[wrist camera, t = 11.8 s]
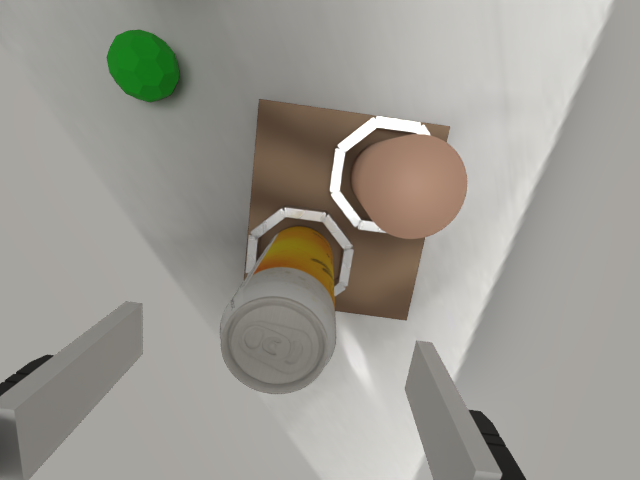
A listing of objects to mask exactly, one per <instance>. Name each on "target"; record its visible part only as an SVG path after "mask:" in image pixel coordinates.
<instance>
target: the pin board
mask: <svg viewBox="0 0 640 480" xmlns="http://www.w3.org/2000/svg"><path fill="white" fill-rule="evenodd" d="M373 117H374V118H375V117H377V116H374V115H367V114H360V113H353V112H346V111H339V110H332V109H325V108H318V107H311V106H304V105H297V104H290V103H283V102H276V101H269V100H263V99H259V108H258V119H257V131H256V143H255V155H254V167H253V179H252V191H251V203H250V214H249V226H248V238H249V234H250V232H251V231H252V230H253V229H254V228H255V227H257V226H258V225H259V224H261V223H262V222H263V221H264V220H266V219H267V218H268V217H270V216H271V215H272V214H274V213H275V212H276V211H277V210H279V209H280V208H281V207H283V206H285V207H286V205H293V206H300V207H307V208H314V209H321V210H326V213H328V212H329V213H330V214H331V215H332V217H333V218H334V219H335V221H336V222H337V223H338V225H339V226H340V227H341V229H342V230H343V231H344V233H345V234H346V235H347V237H348V238H349V239H350V241H351V242H352V245H353V249H354V251H353V257H352V262H351V268H350V274H349V280H348V286H347V287H346V286H345V288H346V289H345V290H344V291H342V292H341V293H339V294H338V295H337V296H335V311H340V312H347V313H355V314H362V315H370V316H377V317H385V318H392V319H399V320H407V316H408V312H409V307H410V303H411V298H412V294H413V289H414V285H415V280H416V276H417V272H418V267H419V263H420V258H421V254H422V249H423V245H424V240H425V237H424V238H418V239H403V238H399V237H395V236H392V235H390V234H388V233H382V232H375V231H368V230H360V229H357V226H356V227H354V226H353V224H352V223H351V222H350V220H349V219H348V218H347V216H346V215H345V214H344V212H343V211H342V210H341V208H340V207H339V206H338V204H337V203H336V202H335V200H334V199H333V198H332V196H331V195H330V193H331V192H330V190H329V189H330V182H331V175H332V168H333V161H334V154H335V149H336V148H337V149H339V148H338V146H337V145H338V144H340V143H341V142H342V141H344V140H345V139H346V138H347V137H349V136H350V135H351V134H353V133H354V132H355V131H356V130H358V129H359V128H360V127H362V126H363V125H364V124H365V123H367V122H368V121H369V120H370V119H372V118H373ZM379 117H381V116H379ZM386 118H388V117H386ZM393 119H394V118H393ZM400 120H401V119H400ZM407 121H408V120H407ZM414 122H415V121H414ZM420 125H424V126H425V127H426V129H427V130H428V132H429V133H430V135H431V136H434V137H437V138H439V139H441V140H443V141H445V142H446V143H447V138H448V134H449V129H450V126H443V125H436V124H429V123H422V122H421V124H420ZM406 135H411V134H409V133H402V132H395V131H388V130H381V129H374V130H373V131H372V132H370V133H369V134H368V135H367V136H365V137H364V138H363V139H361V140H360V141H359V142H358V143H356V144H355V145H354V146H352V147H351V148H350V149H348V150H347V151H346V152H345V157H344V164H343V170H342V177H341V183H340V191H341V193H342V194H343V195H344V197H345V198H346V199H347V201H348V202H349V203H350V205H351V206H352V207H353V209H354V210H355V211H356V213H357V214H358V216H359V217H363V218H370V217H369V215H368V214H367V212H366V211H365V209H364V208H363V206H362V205H361V203H360V202H359V200H358V199H357V197H356V196H355V194H354V192H353V190H352V187H351V182H350V174H351V168H352V165H353V163H354V161H355V159H356V157H357V156H358V154H359V153H360V152H361V151H362V150H363V149H365V148H366V147H367V146H369V145H371V144H373V143H376V142H379V141H384V140H388V139H392V138H397V137H401V136H406ZM370 219H371V218H370ZM295 226H302V227H308V228H311V229H313V230H315V231H317V232H319V233H320V234H321V235H322V236H323V237H324V238H325V239H326V240H327V241H328V243H329V245H330V247H331V250H332V253H333V269H334V280H336V279H337V278H338V276H339V270H340V264H341V258H342V252H343V248H342V247H341V245H340V244H339V243H338V241H337V240H336V239H335V238H334V236H333V235H332V234H331V232H330V231H329V230H328V228H327V227H326V226H325V225H324V223H323V222H319V221H312V220H305V219H298V218H290V217H285V218H284V219H283V220H281V221H280V222H279V223H277V224H276V225H275V226H273V227H272V228H271V229H269V230H268V231H267V232H265V233H264V234H263V235H261V240H260V251H259V258H260V256H261V255H262V253H263V252H264V250H265V249H266V247H267V246H268V244H269V243H270V241H271V240H272V239H273V237H274V236H275V235H276V234H278V233H279V232H280V231H282V230H284V229H286V228H290V227H295ZM248 238H247V250H248ZM247 250H246V262H247ZM246 262H245V274H244V280H245V279H246V277H247V274H248V273H246Z"/></svg>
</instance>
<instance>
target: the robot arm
mask: <svg viewBox="0 0 640 480" xmlns="http://www.w3.org/2000/svg"><path fill="white" fill-rule="evenodd" d="M142 354H143V315H142V303H135V302H128V301H126V302H125V303H123V304H122V305H121V306H119V307H118V308H117V309H115V310H114V311H113V312H111V313H110V314H109V315H107V316H106V317H105V318H103V319H102V320H101V321H99V322H98V323H97V324H96V325H94V326H93V327H92V328H90V329H89V330H88V331H86V332H85V333H84V334H82V335H81V336H80V337H79V338H77V339H76V340H74V341H73V342H72V343H70V344H69V345H68V346H66V347H65V348H64V349H62V350H61V351H60V352H58V353H57V354H56V355H45V356H43V357H41V358H39V359H36V360H34V361H32V362H30V363H28V364H27V365H26V366H24V367H23V368H21V369H20V370H19V371H17V372H16V374H13V375H12V376H10V377H9V378H7V379H6V380H5V382H2V383H1V384H0V480H29V479H30V478H31V477H32V476H33V474H34V473H35V472H36V471H37V470H38V469H39V468H40V466H42V465H43V463H44V462H45V461H46V460H47V459H48V458H49V457H50V456H51V455H52V453H53V452H54V451H55V450H56V449H57V448H58V447H59V446H60V445H61V444H62V442H63V441H64V440H65V439H66V438H67V437H68V435H70V434H71V433H72V431H73V430H74V429H75V428H76V427H77V426H78V425H79V424H80V423H81V421H82V420H83V419H84V418H85V417H86V416H87V415H88V414H89V412H91V410H92V409H93V408H94V407H95V406H96V405H97V404H98V403H99V402H100V400H101V399H102V398H103V397H104V396H105V395H106V394H107V393H108V392H109V391H110V389H111V388H112V387H113V386H114V385H115V384H116V383H117V382H118V381H119V380H120V378H121V377H122V376H123V375H124V374H125V373H126V372H127V371H128V370H129V368H130V367H131V366H132V365H133V364H134V363H135V362H136V361H137V360H138V358H139V357H140V356H141V355H142ZM405 391H406V395H407V398H408V401H409V404H410V407H411V410H412V413H413V417H414V420H415V423H416V426H417V429H418V432H419V435H420V439H421V442H422V445H423V448H424V451H425V454H426V457H427V461H428V464H429V466H430V470H431V473H432V476H433V480H526V478H525V477H524V475H523V473H522V472H521V470H520V468H519V466H518V465H517V463H516V461H515V460H514V458H513V456H512V455H511V453H510V451H509V450H508V448H507V447H506V445H505V443H504V441H503V440H502V438H501V437H500V436H499V433H498V431H497V430H496V428H495V426H494V425H493V423H492V422H491V421H490V420H489V419H488V418H487V417H486V416H485V415H484V414H483V413H482V412H481V411H474V410H468V409H467V407H466V405H465V403H464V401H463V399H462V397H461V395H460V394H459V392H458V390H457V388H456V386H455V384H454V382H453V381H452V379H451V377H450V375H449V373H448V371H447V369H446V367H445V366H444V364H443V362H442V360H441V358H440V356H439V354H438V353H437V351H436V349H435V347H434V345H433V343H431V342H423V341H416V344H415V348H414V352H413V357H412V361H411V365H410V369H409V373H408V377H407V381H406V385H405Z"/></svg>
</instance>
